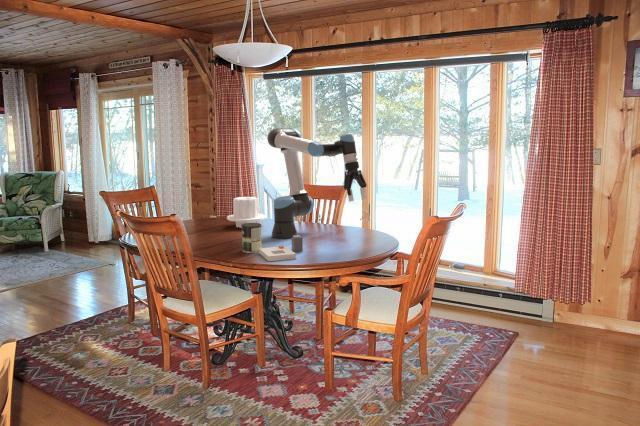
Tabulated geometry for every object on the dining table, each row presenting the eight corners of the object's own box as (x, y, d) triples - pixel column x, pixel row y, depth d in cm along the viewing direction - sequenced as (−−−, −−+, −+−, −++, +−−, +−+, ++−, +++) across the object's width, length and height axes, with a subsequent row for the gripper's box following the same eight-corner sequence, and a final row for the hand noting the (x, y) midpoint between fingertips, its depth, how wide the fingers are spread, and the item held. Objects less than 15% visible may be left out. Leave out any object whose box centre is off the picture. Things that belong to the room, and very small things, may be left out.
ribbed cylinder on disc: (219, 228, 339) (218, 199, 336) (244, 222, 360) (243, 194, 357) (249, 231, 326) (248, 201, 323) (273, 225, 347) (272, 197, 344)
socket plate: (259, 253, 269) (259, 247, 268) (285, 250, 274) (285, 244, 273) (268, 261, 252) (268, 254, 251) (296, 258, 257) (295, 252, 256)
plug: (291, 250, 275) (291, 235, 274) (299, 249, 277) (299, 234, 275) (294, 252, 271) (294, 237, 270) (302, 251, 272) (302, 236, 271)
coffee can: (241, 253, 269) (240, 226, 267) (242, 248, 279) (242, 222, 277) (261, 252, 270) (261, 226, 267) (262, 248, 280) (261, 222, 278)
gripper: (344, 161, 274) (351, 201, 274) (368, 160, 294) (374, 197, 294) (333, 164, 278) (340, 203, 278) (357, 162, 299) (363, 199, 299)
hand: (358, 200), depth 286 cm, fingers open, 13 cm apart
